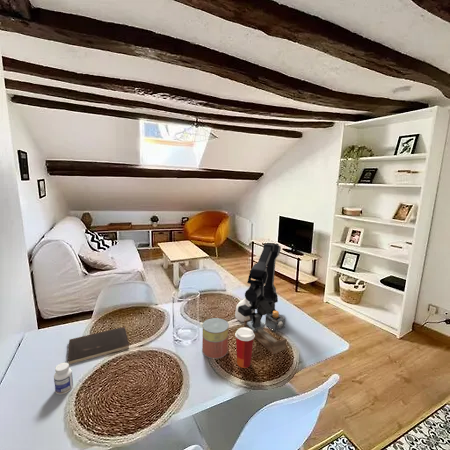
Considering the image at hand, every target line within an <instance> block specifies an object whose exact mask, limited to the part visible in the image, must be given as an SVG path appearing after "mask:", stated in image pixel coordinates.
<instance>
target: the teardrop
mask: <svg viewBox="0 0 450 450" xmlns="http://www.w3.org/2000/svg"><path fill="white" fill-rule="evenodd" d="M242 305H247V306H248V307H249V306H251V304H249V301H248V300H247V299H246V298H245V297H244V299H242V300H240V301H239V302H238V303H237V304H236V306H235V315H234V317H235V319H236V320H237V321H239V322H241V323H242V322H243V323H244V320H246V319H249V318H250V317H249V316H246V317H245V316H243V315H242V314H241V313H239V312H238V307H239V306H242Z"/></svg>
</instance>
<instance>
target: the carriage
mask: <svg viewBox="0 0 450 450" xmlns="http://www.w3.org/2000/svg"><path fill="white" fill-rule="evenodd" d="M255 313H256V315H255V322H254V324H252V322H251V321H249V322H247V325H248V327H249V328H250V329H252V330H253V331H254V332H255V333H257V330H258V329H262V330H263V329H264V328H265V327H266V325H265V323H263V322H262V318H261V315H259V314H258V313H257V312H255Z"/></svg>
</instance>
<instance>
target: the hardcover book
mask: <svg viewBox="0 0 450 450" xmlns="http://www.w3.org/2000/svg"><path fill="white" fill-rule="evenodd" d="M129 348H130V342H129V338H128V335H127V330H126V327H125V326H122V327H117V328H114V329H113V328H112V329H109V330H105V331H100V332H96V333H95V332H94V333H91V334H88V335H83V336H79V337H75V338H69V340H68V351H67V352H68V353H67V362H66V363H68V364H69V365H71V364H75V363H80V362H82V361H86V360H89V359H94V358H96V357H97V358H98V357H100V356H104V355H108V354H112V353H116V352H119V351H123V350H127V349H129Z"/></svg>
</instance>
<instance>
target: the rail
mask: <svg viewBox="0 0 450 450" xmlns="http://www.w3.org/2000/svg"><path fill="white" fill-rule="evenodd" d="M249 321H251V319H250V318H249V319H246V320H244V322H243V327H245V328H249V327H248V325H247V322H249ZM249 329H250V328H249ZM251 330H252V329H251ZM252 331H253V330H252ZM253 333H254V335H255V337H254V339H255V340H256V341H257V342H258V343H259V344H261V345H262V346H263V347H264V348H265V349H267V351H269V352H270V353H271V354H273V355H274V354H277V353H280V352H282V351H284V350H286V347H287V345H286V344H287V339H286V338H285V337H284V338H282V339H277V338H276V337H275V336H274V335H272V334H271V333H269V332H268V331H267V330H265V328H263V330H262V329H258V330H257V333H255V332H254V331H253Z"/></svg>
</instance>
